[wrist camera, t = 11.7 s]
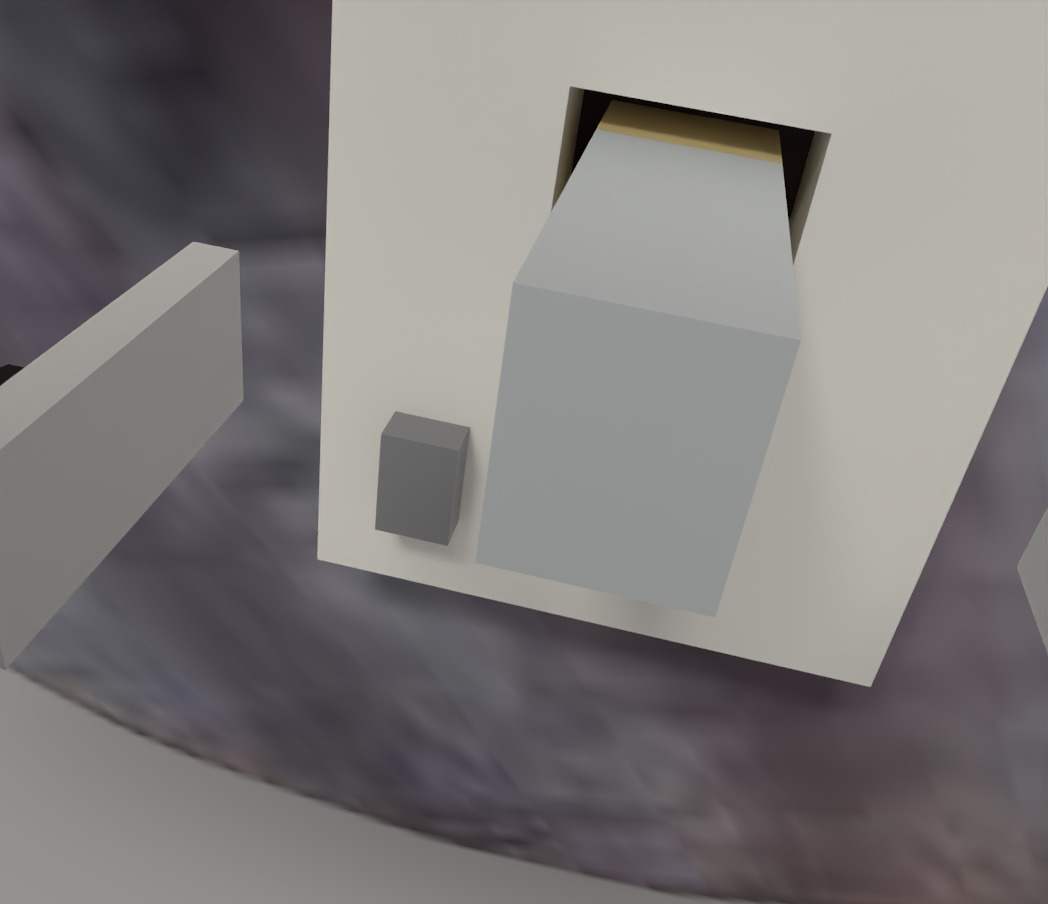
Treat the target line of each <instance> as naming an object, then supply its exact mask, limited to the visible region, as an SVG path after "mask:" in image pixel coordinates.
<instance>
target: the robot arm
mask: <svg viewBox="0 0 1048 904" xmlns="http://www.w3.org/2000/svg"><path fill="white" fill-rule="evenodd" d="M242 401H243V370H242V335H241V301H240V267H239V251H237V250H232V249H227V248H222V247H217V246H212V245H207V244H202V243H198V242H192V243H191V244H189V245H188V246H187V247H185V248H184V249H183V250H181V251H180V252H179V253H177V254H176V255H175V256H173V257H172V258H171V259H169V260H168V261H167V262H165V263H164V264H163V265H161V266H160V267H159V268H157V269H156V270H155V271H153V272H152V273H151V274H149V275H148V276H147V277H145V278H144V279H143V280H141V281H140V282H138V283H137V284H136V285H134V286H133V287H132V288H130V289H129V290H128V291H126V292H125V293H124V294H122V295H121V296H120V297H118V298H117V299H116V300H114V301H113V302H112V303H110V304H109V305H108V306H106V307H105V308H104V309H102V310H101V311H100V312H98V313H97V314H96V315H94V316H93V317H92V318H90V319H89V320H88V321H86V322H85V323H84V324H82V325H81V326H80V327H78V328H77V329H76V330H74V331H73V332H72V333H70V334H69V335H68V336H66V337H65V338H64V339H62V340H61V341H60V342H58V343H57V344H56V345H54V346H53V347H52V348H50V349H49V350H48V351H46V352H45V353H43V354H42V355H41V356H39V357H38V358H37V359H35V360H34V361H33V362H31V363H30V364H29V365H27V366H26V367H25V368H23V367H19V366H14V365H9V364H8V365H6V366H3V367H0V668H1V669H5V670H6V669H7V668H8V667H9V666H10V665H11V663H12V662H13V661H14V660H15V659H16V658H17V657H18V656H19V654H20V653H21V652H22V651H23V650H24V649H25V648H26V646H27V645H28V644H29V643H30V642H31V641H32V640H33V639H34V637H35V636H36V635H37V634H38V633H39V632H40V631H41V629H42V628H43V627H44V626H45V625H46V624H47V623H48V621H49V620H50V619H51V618H52V617H53V616H54V615H55V614H56V612H57V611H58V610H59V609H60V608H61V607H62V606H63V604H64V603H65V602H66V601H67V600H68V599H69V598H70V597H71V595H72V594H73V593H74V592H75V591H76V590H77V589H78V587H79V586H80V585H81V584H82V583H83V582H84V581H85V580H86V578H87V577H88V576H89V575H90V574H91V573H92V572H93V570H94V569H95V568H96V567H97V566H98V565H99V564H100V563H101V561H102V560H103V559H104V558H105V557H106V556H107V555H108V553H109V552H110V551H111V550H112V549H113V548H114V547H115V545H116V544H117V543H118V542H119V541H120V540H121V539H122V538H123V536H124V535H125V534H126V533H127V532H128V531H129V530H130V528H131V527H132V526H133V525H134V524H135V523H136V522H137V521H138V519H139V518H140V517H141V516H142V515H143V514H144V513H145V511H146V510H147V509H148V508H149V507H150V506H151V505H152V504H153V502H154V501H155V500H156V499H157V498H158V497H159V496H160V494H161V493H162V492H163V491H164V490H165V489H166V488H167V487H168V485H169V484H170V483H171V482H172V481H173V480H174V479H175V477H176V476H177V475H178V474H179V473H180V472H181V471H182V470H183V468H184V467H185V466H186V465H187V464H188V463H189V462H190V460H191V459H192V458H193V457H194V456H195V455H196V454H197V452H198V451H199V450H200V449H201V448H202V447H203V446H204V445H205V443H206V442H207V441H208V440H209V439H210V438H211V437H212V435H213V434H214V433H215V432H216V431H217V430H218V429H219V428H220V426H221V425H222V424H223V423H224V422H225V421H226V420H227V418H228V417H229V416H230V415H231V414H232V413H233V412H234V411H235V409H236V408H237V407H238V406H239V405H240V404H241V403H242ZM1017 570H1018V573H1019V576H1020V578H1021V581H1022V584H1023V587H1024V590H1025V592H1026V595H1027V598H1028V601H1029V604H1030V606H1031V609H1032V612H1033V615H1034V618H1035V620H1036V623H1037V626H1038V629H1039V632H1040V634H1041V637H1042V640H1043V643H1044V646H1045V648H1046V651H1047V654H1048V507H1047V509H1046V511H1045V513H1044V515H1043V517H1042V519H1041V520H1040V522H1039V524H1038V526H1037V528H1036V530H1035V532H1034V534H1033V536H1032V538H1031V540H1030V542H1029V544H1028V546H1027V548H1026V549H1025V551H1024V553H1023V555H1022V557H1021V559H1020V561H1019V563H1018V565H1017Z"/></svg>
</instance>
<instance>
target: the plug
mask: <svg viewBox="0 0 1048 904" xmlns="http://www.w3.org/2000/svg"><path fill="white" fill-rule="evenodd" d="M800 342H801V335H800V326H799V316H798V307H797V297H796V288H795V278H794V269H793V259H792V250H791V240H790V231H789V221H788V212H787V202H786V193H785V183H784V174H783V164H782V155H781V145H780V136H779V130H776V129H770V128H765V127H759V126H754V125H748V124H743V123H737V122H732V121H726V120H721V119H715V118H710V117H704V116H699V115H693V114H688V113H682V112H677V111H671V110H666V109H660V108H655V107H649V106H644V105H638V104H633V103H627V102H622V101H616V100H612V101H611V103H610V105H609V107H608V109H607V110H606V112H605V114H604V116H603V118H602V120H601V121H600V123H599V125H598V127H597V129H596V131H595V132H594V134H593V136H592V138H591V140H590V142H589V143H588V145H587V147H586V149H585V151H584V153H583V155H582V156H581V158H580V160H579V162H578V164H577V166H576V167H575V169H574V171H573V173H572V175H571V177H570V178H569V180H568V182H567V184H566V186H565V188H564V189H563V191H562V193H561V195H560V197H559V199H558V201H557V202H556V204H555V206H554V208H553V210H552V212H551V213H550V215H549V217H548V219H547V221H546V223H545V224H544V226H543V228H542V230H541V232H540V234H539V235H538V237H537V239H536V241H535V243H534V245H533V247H532V248H531V250H530V252H529V254H528V256H527V258H526V259H525V261H524V263H523V265H522V267H521V269H520V270H519V272H518V274H517V276H516V278H515V280H514V281H513V286H512V293H511V301H510V308H509V315H508V323H507V330H506V338H505V345H504V352H503V360H502V367H501V375H500V382H499V390H498V397H497V404H496V412H495V419H494V427H493V434H492V442H491V449H490V456H489V464H488V471H487V479H486V486H485V493H484V501H483V508H482V516H481V523H480V531H479V538H478V545H477V553H476V560H475V563H478V564H482V565H487V566H491V567H495V568H500V569H504V570H508V571H513V572H517V573H522V574H526V575H530V576H535V577H539V578H544V579H548V580H552V581H557V582H561V583H566V584H570V585H574V586H579V587H583V588H588V589H592V590H596V591H601V592H605V593H610V594H614V595H618V596H623V597H627V598H631V599H636V600H640V601H645V602H649V603H653V604H658V605H662V606H667V607H671V608H675V609H680V610H684V611H689V612H693V613H697V614H702V615H706V616H711V617H715V616H716V613H717V610H718V607H719V603H720V600H721V597H722V594H723V590H724V587H725V584H726V581H727V578H728V574H729V571H730V568H731V565H732V561H733V558H734V555H735V552H736V548H737V545H738V542H739V539H740V536H741V532H742V529H743V526H744V523H745V519H746V516H747V513H748V510H749V507H750V503H751V500H752V497H753V494H754V490H755V487H756V484H757V481H758V478H759V474H760V471H761V468H762V465H763V461H764V458H765V455H766V452H767V449H768V445H769V442H770V439H771V436H772V432H773V429H774V426H775V423H776V419H777V416H778V413H779V410H780V407H781V403H782V400H783V397H784V394H785V390H786V387H787V384H788V381H789V378H790V374H791V371H792V368H793V365H794V361H795V358H796V355H797V352H798V349H799V345H800Z"/></svg>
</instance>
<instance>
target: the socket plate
mask: <svg viewBox="0 0 1048 904" xmlns="http://www.w3.org/2000/svg"><path fill="white" fill-rule="evenodd" d="M585 89H588V90H593V91H599V92H604V93H610V94H615V95H621V96H626V97H632V98H637V99H643V100H648V101H654V102H659V103H665V104H670V105H676V106H681V107H687V108H693V109H698V110H704V111H709V112H715V113H720V114H726V115H731V116H737V117H742V118H748V119H753V120H759V121H764V122H770V123H775V124H781V125H786V126H792V127H797V128H803V129H808V130H814V131H815V132H814V135H813V139H812V142H811V146H810V150H809V153H808V157H807V160H806V164H805V167H804V171H803V174H802V178H801V181H800V185H799V188H798V192H797V196H796V199H795V203H794V206H793V210H792V213H791V217H790V220H789V231H790V240H791V250H792V259H793V269H794V278H795V288H796V297H797V307H798V316H799V326H800V335H801V342H800V345H799V349H798V352H797V355H796V358H795V361H794V365H793V368H792V371H791V374H790V378H789V381H788V384H787V387H786V390H785V394H784V397H783V400H782V403H781V407H780V410H779V413H778V416H777V419H776V423H775V426H774V429H773V432H772V436H771V439H770V442H769V445H768V449H767V452H766V455H765V458H764V461H763V465H762V468H761V471H760V474H759V478H758V481H757V484H756V487H755V490H754V494H753V497H752V500H751V503H750V507H749V510H748V513H747V516H746V519H745V523H744V526H743V529H742V532H741V536H740V539H739V542H738V545H737V548H736V552H735V555H734V558H733V561H732V565H731V568H730V571H729V574H728V578H727V581H726V584H725V587H724V590H723V594H722V597H721V600H720V603H719V607H718V610H717V613H716V616H715V617H711V616H706V615H702V614H697V613H693V612H689V611H684V610H680V609H675V608H671V607H667V606H662V605H658V604H653V603H649V602H645V601H640V600H636V599H631V598H627V597H623V596H618V595H614V594H610V593H605V592H601V591H596V590H592V589H588V588H583V587H579V586H574V585H570V584H566V583H561V582H557V581H552V580H548V579H544V578H539V577H535V576H530V575H526V574H522V573H517V572H513V571H508V570H504V569H500V568H495V567H491V566H487V565H482V564H478V563H475V560H476V553H477V545H478V538H479V531H480V523H481V516H482V508H483V501H484V493H485V486H486V479H487V471H488V464H489V456H490V449H491V442H492V434H493V427H494V419H495V412H496V404H497V397H498V390H499V382H500V375H501V367H502V360H503V352H504V345H505V338H506V330H507V323H508V315H509V308H510V301H511V293H512V286H513V281H514V280H515V278H516V276H517V274H518V272H519V270H520V269H521V267H522V265H523V263H524V261H525V259H526V258H527V256H528V254H529V252H530V250H531V248H532V247H533V245H534V243H535V241H536V239H537V237H538V235H539V234H540V232H541V230H542V228H543V226H544V224H545V223H546V221H547V219H548V217H549V215H550V213H551V212H552V210H553V208H554V206H555V204H556V202H557V201H558V199H559V197H560V195H561V193H562V191H563V189H564V188H565V186H566V184H567V182H568V180H569V178H570V177H571V172H572V166H573V159H574V153H575V147H576V140H577V134H578V128H579V121H580V115H581V109H582V102H583V96H584V90H585ZM1047 287H1048V0H332V37H331V74H330V111H329V148H328V186H327V223H326V260H325V297H324V334H323V371H322V408H321V445H320V482H319V519H318V556H317V559H318V560H323V561H327V562H331V563H336V564H340V565H344V566H349V567H353V568H357V569H362V570H366V571H370V572H375V573H379V574H383V575H388V576H392V577H396V578H401V579H405V580H409V581H414V582H418V583H422V584H427V585H431V586H435V587H439V588H444V589H448V590H452V591H457V592H461V593H465V594H470V595H474V596H478V597H483V598H487V599H491V600H496V601H500V602H504V603H509V604H513V605H517V606H522V607H526V608H530V609H535V610H539V611H543V612H548V613H552V614H556V615H561V616H565V617H569V618H574V619H578V620H582V621H587V622H591V623H595V624H600V625H604V626H608V627H613V628H617V629H621V630H626V631H630V632H634V633H639V634H643V635H647V636H652V637H656V638H660V639H665V640H669V641H673V642H678V643H682V644H686V645H691V646H695V647H699V648H704V649H708V650H712V651H716V652H721V653H725V654H729V655H734V656H738V657H742V658H747V659H751V660H755V661H760V662H764V663H768V664H773V665H777V666H781V667H786V668H790V669H794V670H799V671H803V672H807V673H812V674H816V675H820V676H825V677H829V678H833V679H838V680H842V681H846V682H851V683H855V684H859V685H864V686H868V687H871V685H872V683H873V680H874V678H875V676H876V674H877V671H878V669H879V667H880V664H881V662H882V660H883V658H884V655H885V653H886V651H887V649H888V646H889V644H890V642H891V640H892V637H893V635H894V633H895V631H896V628H897V626H898V624H899V621H900V619H901V617H902V615H903V612H904V610H905V608H906V606H907V603H908V601H909V599H910V597H911V594H912V592H913V590H914V588H915V585H916V583H917V581H918V578H919V576H920V574H921V572H922V569H923V567H924V565H925V563H926V560H927V558H928V556H929V554H930V551H931V549H932V547H933V545H934V542H935V540H936V538H937V535H938V533H939V531H940V529H941V526H942V524H943V522H944V520H945V517H946V515H947V513H948V511H949V508H950V506H951V504H952V502H953V499H954V497H955V495H956V492H957V490H958V488H959V486H960V483H961V481H962V479H963V477H964V474H965V472H966V470H967V468H968V465H969V463H970V461H971V459H972V456H973V454H974V452H975V450H976V447H977V445H978V443H979V440H980V438H981V436H982V434H983V431H984V429H985V427H986V425H987V422H988V420H989V418H990V416H991V413H992V411H993V409H994V407H995V404H996V402H997V400H998V397H999V395H1000V393H1001V391H1002V388H1003V386H1004V384H1005V382H1006V379H1007V377H1008V375H1009V373H1010V370H1011V368H1012V366H1013V364H1014V361H1015V359H1016V357H1017V354H1018V352H1019V350H1020V348H1021V345H1022V343H1023V341H1024V339H1025V336H1026V334H1027V332H1028V330H1029V327H1030V325H1031V323H1032V321H1033V318H1034V316H1035V314H1036V311H1037V309H1038V307H1039V305H1040V302H1041V300H1042V298H1043V296H1044V293H1045V291H1046V289H1047Z"/></svg>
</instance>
